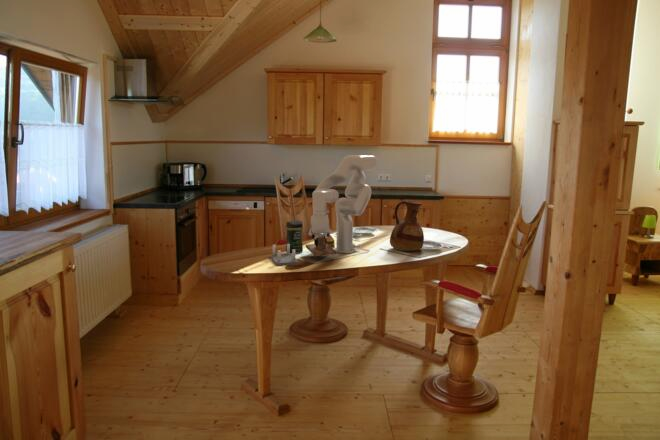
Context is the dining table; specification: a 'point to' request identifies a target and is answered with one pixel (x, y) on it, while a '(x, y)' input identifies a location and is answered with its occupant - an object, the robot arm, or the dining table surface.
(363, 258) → the dining table surface
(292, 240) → the coffee jar
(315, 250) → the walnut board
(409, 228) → the ceramic pitcher
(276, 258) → the peg stand
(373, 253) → the dining table surface
